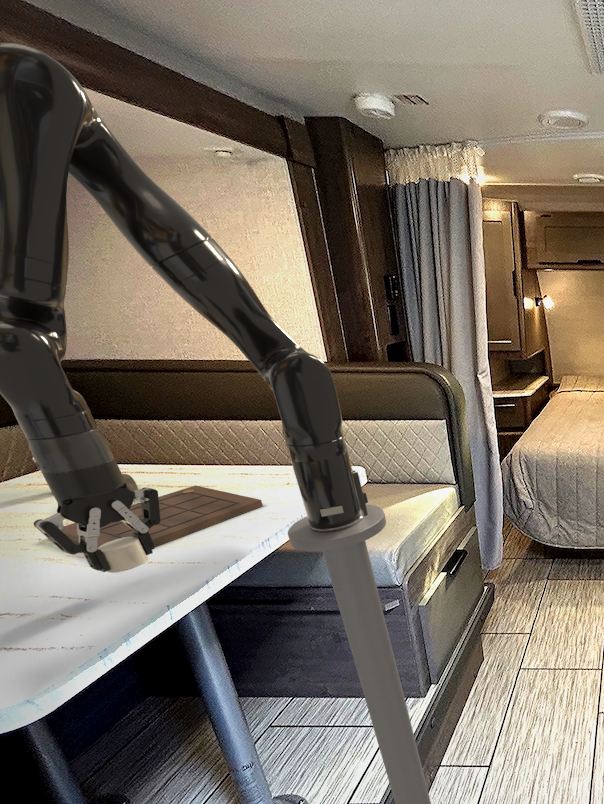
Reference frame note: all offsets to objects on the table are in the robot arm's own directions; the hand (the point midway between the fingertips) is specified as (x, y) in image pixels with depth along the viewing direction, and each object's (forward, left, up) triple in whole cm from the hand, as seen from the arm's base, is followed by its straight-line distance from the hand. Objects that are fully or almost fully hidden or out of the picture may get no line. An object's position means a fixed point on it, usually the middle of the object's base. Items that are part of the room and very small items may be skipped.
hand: (126, 561), depth 80 cm
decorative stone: (-19, -49, -4) cm, 53 cm away
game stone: (0, 0, -1) cm, 1 cm away
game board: (-16, -24, -4) cm, 29 cm away
